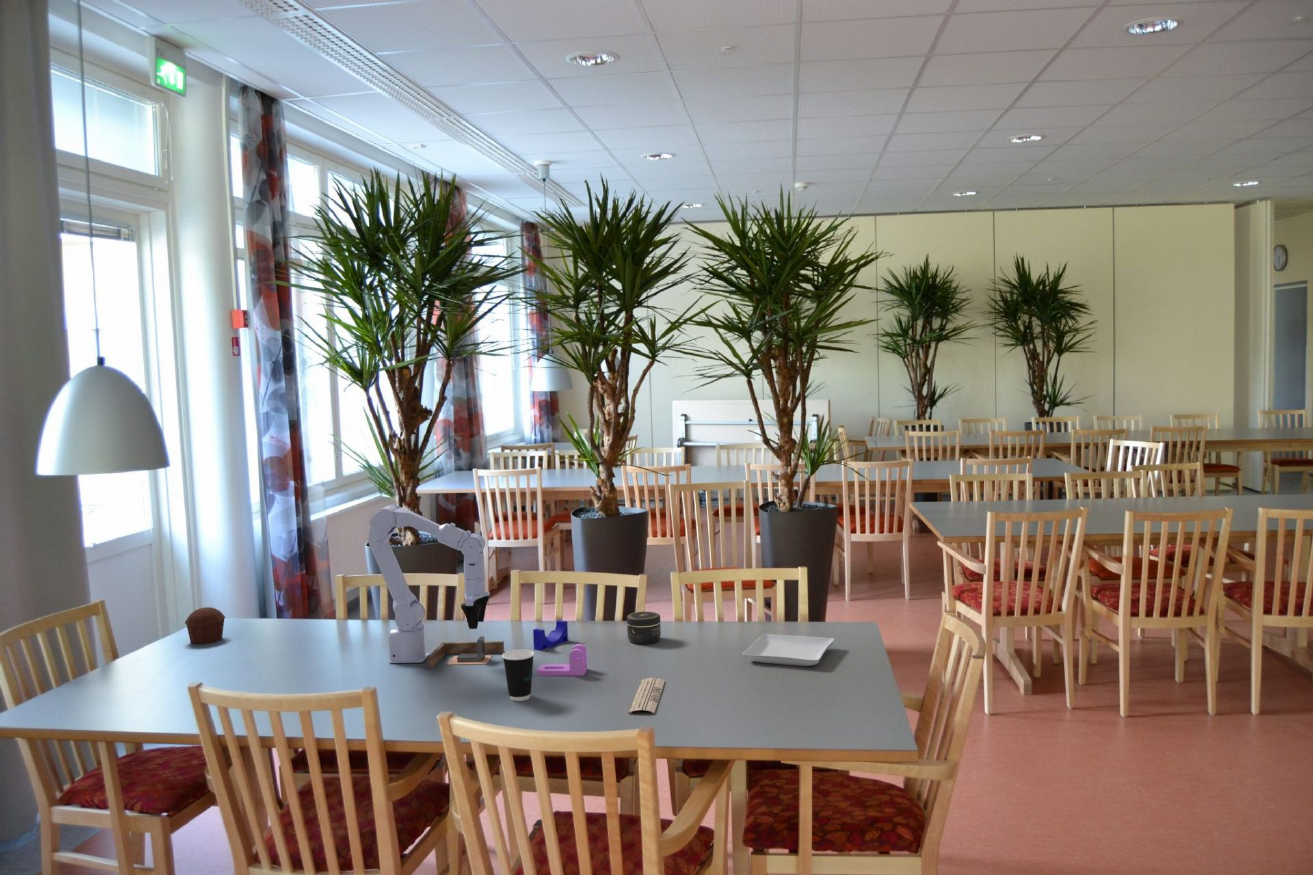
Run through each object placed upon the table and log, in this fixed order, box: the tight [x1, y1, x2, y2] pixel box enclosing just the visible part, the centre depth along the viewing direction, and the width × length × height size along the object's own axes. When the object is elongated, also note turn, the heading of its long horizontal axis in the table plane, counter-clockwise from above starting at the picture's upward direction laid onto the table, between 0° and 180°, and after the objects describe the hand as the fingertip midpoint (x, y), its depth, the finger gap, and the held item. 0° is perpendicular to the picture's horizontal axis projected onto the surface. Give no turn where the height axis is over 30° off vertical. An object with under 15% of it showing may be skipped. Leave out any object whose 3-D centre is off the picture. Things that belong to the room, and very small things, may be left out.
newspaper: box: [628, 677, 666, 715], centre depth 238 cm, size 24×7×2 cm, turn 173°
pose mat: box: [446, 654, 493, 666], centre depth 274 cm, size 11×8×1 cm
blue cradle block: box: [532, 619, 569, 652], centre depth 287 cm, size 12×4×6 cm, turn 146°
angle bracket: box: [457, 635, 486, 662], centre depth 273 cm, size 7×4×6 cm, turn 88°
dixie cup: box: [501, 649, 535, 702], centre depth 240 cm, size 8×8×11 cm
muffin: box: [184, 606, 226, 645], centre depth 303 cm, size 12×11×10 cm
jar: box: [626, 611, 662, 646], centre depth 288 cm, size 10×10×8 cm
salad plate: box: [742, 633, 835, 667], centre depth 268 cm, size 21×21×3 cm
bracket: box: [536, 643, 588, 677], centre depth 260 cm, size 13×6×7 cm, turn 85°
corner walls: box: [427, 640, 505, 669], centre depth 274 cm, size 18×15×3 cm
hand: (476, 625), depth 275 cm, fingers open, 7 cm apart
